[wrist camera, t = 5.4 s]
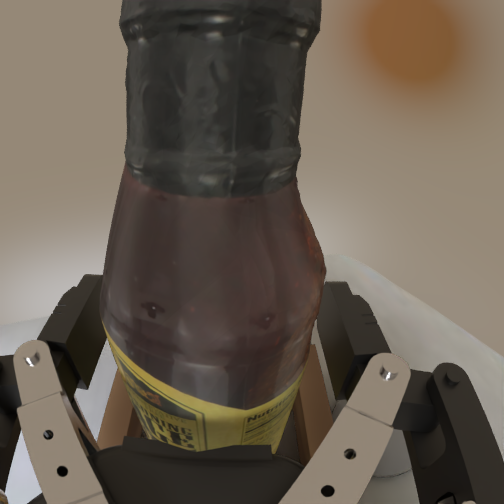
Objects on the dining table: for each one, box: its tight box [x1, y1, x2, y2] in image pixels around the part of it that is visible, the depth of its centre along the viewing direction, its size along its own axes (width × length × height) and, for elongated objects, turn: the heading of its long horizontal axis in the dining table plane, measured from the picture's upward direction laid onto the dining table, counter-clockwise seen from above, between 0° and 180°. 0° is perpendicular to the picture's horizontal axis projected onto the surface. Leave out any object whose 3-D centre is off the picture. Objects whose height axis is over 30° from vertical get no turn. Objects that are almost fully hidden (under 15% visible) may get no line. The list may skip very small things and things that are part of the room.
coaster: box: [332, 400, 412, 477], centre depth 16 cm, size 7×7×1 cm
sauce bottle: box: [99, 0, 326, 454], centre depth 10 cm, size 6×6×20 cm
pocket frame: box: [97, 344, 334, 467], centre depth 14 cm, size 12×13×2 cm
